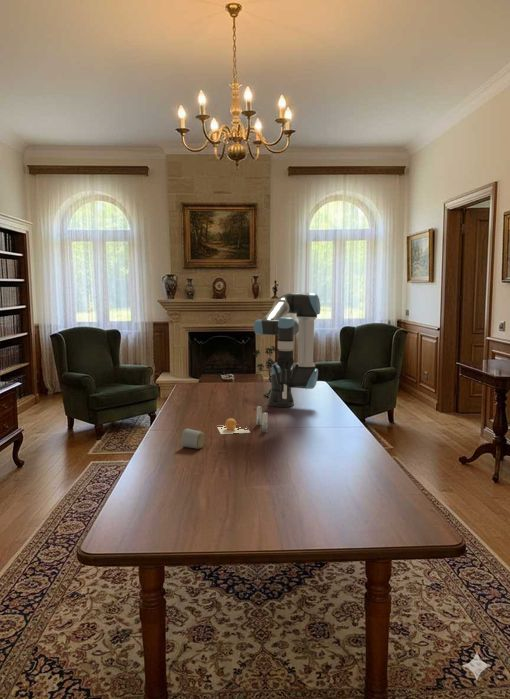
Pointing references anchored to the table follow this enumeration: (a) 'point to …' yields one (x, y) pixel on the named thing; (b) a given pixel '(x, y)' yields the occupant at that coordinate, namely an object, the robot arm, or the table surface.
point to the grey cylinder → (192, 439)
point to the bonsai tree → (266, 363)
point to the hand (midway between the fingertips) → (284, 398)
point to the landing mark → (225, 431)
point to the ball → (230, 424)
